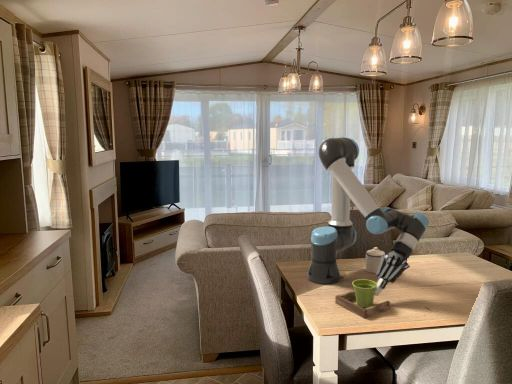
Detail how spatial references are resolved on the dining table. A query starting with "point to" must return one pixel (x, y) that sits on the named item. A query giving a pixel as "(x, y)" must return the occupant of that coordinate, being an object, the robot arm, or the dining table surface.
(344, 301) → the walnut bay
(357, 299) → the plant pot
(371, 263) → the teacup with lid
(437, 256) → the dining table surface
